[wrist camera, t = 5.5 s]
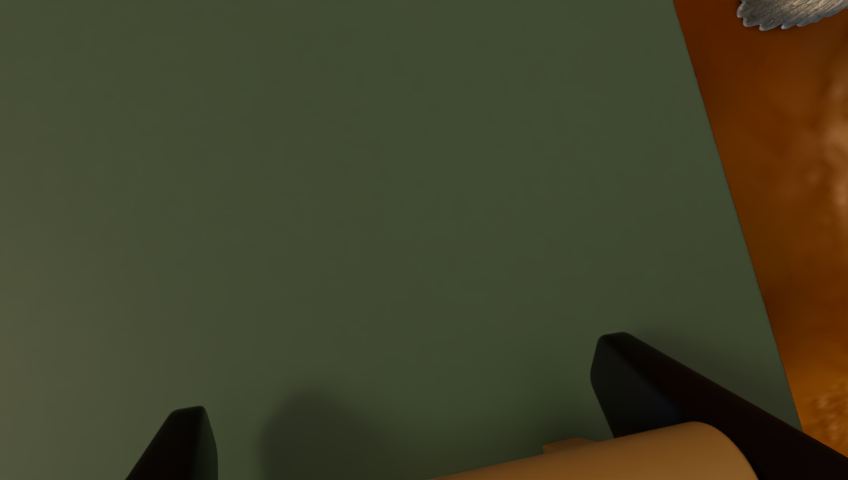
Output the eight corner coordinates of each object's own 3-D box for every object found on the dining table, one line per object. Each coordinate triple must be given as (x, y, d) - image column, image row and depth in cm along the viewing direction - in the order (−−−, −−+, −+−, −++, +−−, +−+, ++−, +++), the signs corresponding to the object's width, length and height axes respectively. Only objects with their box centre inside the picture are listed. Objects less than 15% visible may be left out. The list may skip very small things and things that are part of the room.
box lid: (801, 513, 11) (1153, 608, 6) (-61, 745, 8) (-593, 1246, 3) (640, -39, 14) (804, -258, 9) (-57, -15, 11) (-354, -325, 6)
